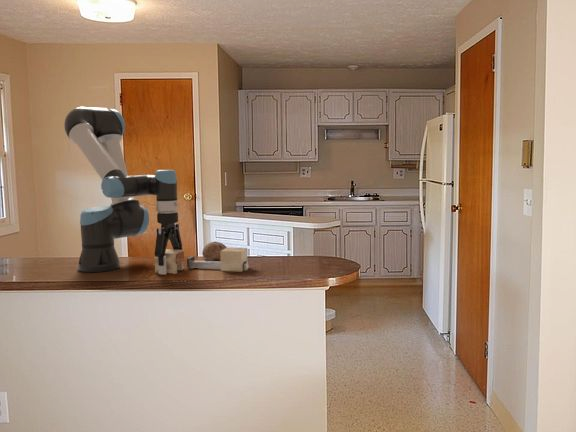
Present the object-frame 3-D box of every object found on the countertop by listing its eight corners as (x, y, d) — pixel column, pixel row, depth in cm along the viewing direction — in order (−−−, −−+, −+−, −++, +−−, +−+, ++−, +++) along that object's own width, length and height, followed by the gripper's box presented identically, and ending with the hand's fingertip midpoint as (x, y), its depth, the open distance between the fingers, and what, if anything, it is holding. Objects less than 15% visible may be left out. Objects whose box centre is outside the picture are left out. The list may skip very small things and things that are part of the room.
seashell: (218, 261, 205) (208, 239, 207) (205, 270, 210) (195, 248, 212) (236, 256, 214) (226, 235, 216) (222, 266, 219) (213, 244, 221)
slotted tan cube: (155, 273, 190) (154, 252, 189) (164, 268, 197) (163, 249, 196) (177, 273, 188) (176, 253, 187) (185, 269, 195) (184, 249, 194)
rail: (185, 269, 195) (185, 249, 194) (193, 265, 202) (192, 246, 201) (244, 271, 190) (244, 251, 189) (250, 267, 197) (249, 248, 196)
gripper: (162, 215, 178) (165, 278, 180) (189, 208, 201) (191, 264, 203) (142, 215, 179) (145, 277, 182) (171, 208, 202) (173, 263, 205)
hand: (169, 270), depth 193 cm, fingers open, 11 cm apart
